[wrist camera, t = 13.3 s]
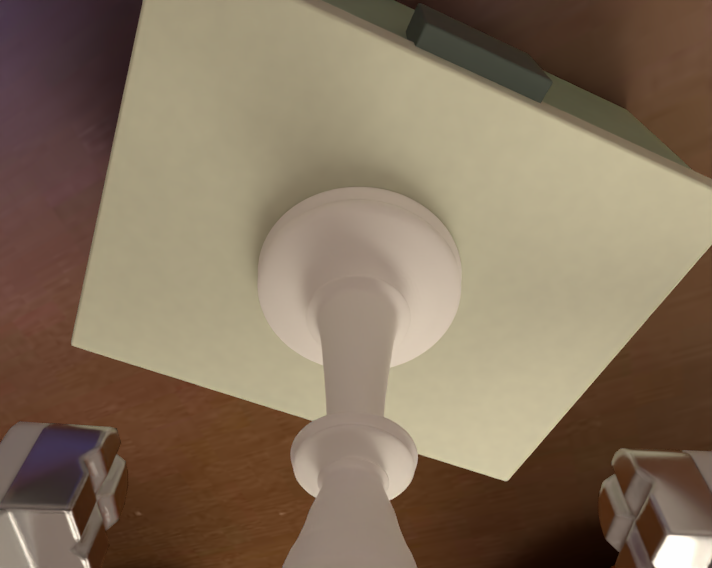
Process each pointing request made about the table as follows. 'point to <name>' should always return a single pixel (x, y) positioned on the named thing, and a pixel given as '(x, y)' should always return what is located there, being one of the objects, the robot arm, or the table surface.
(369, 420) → the chess piece
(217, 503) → the table surface
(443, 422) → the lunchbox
